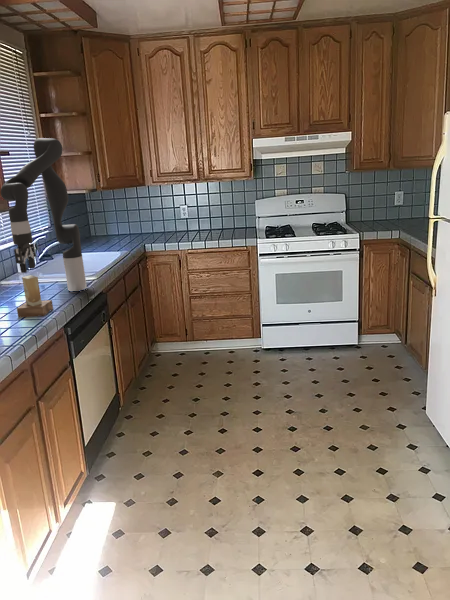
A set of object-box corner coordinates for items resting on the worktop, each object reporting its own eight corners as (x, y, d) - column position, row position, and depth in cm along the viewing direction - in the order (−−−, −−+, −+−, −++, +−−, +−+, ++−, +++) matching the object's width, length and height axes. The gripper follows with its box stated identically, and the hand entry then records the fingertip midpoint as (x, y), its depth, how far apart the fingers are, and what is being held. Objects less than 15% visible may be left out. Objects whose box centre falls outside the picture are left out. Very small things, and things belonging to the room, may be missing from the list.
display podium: (29, 310, 226) (27, 301, 225) (53, 308, 226) (51, 300, 225) (18, 317, 216) (16, 308, 215) (43, 316, 215) (42, 306, 214)
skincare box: (26, 304, 220) (21, 277, 217) (35, 302, 223) (30, 274, 220) (33, 306, 216) (28, 278, 212) (42, 304, 219) (37, 276, 215)
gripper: (20, 230, 218) (26, 267, 223) (4, 235, 205) (12, 274, 209) (37, 229, 218) (43, 266, 222) (22, 234, 204) (29, 273, 209)
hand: (28, 270), depth 216 cm, fingers open, 8 cm apart
